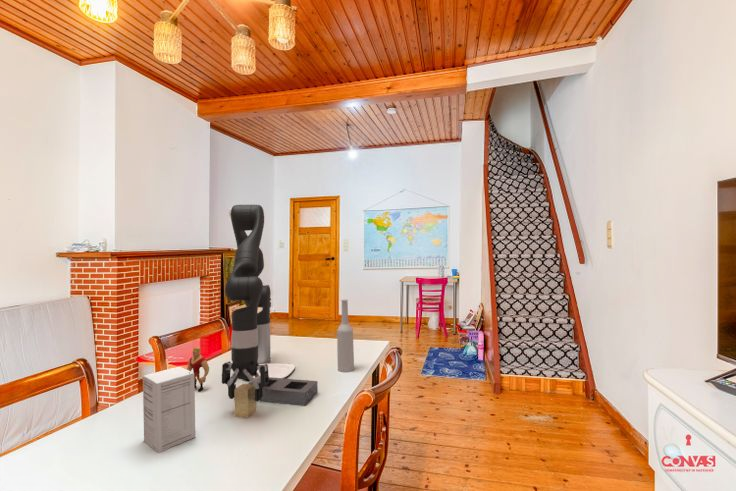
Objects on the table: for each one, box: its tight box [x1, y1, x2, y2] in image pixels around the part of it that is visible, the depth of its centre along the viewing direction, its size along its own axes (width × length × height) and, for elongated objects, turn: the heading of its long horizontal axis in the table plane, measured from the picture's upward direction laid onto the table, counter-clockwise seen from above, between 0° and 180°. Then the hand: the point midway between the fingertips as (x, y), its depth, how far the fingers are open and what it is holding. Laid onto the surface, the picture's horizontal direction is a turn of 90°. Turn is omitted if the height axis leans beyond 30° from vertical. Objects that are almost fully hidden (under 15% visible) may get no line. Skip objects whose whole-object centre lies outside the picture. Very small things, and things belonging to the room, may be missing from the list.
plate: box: [253, 362, 296, 379], centre depth 140 cm, size 18×18×2 cm
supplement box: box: [142, 366, 196, 453], centre depth 92 cm, size 10×9×17 cm
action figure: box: [186, 346, 210, 392], centre depth 125 cm, size 10×4×15 cm, turn 70°
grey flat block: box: [247, 377, 319, 407], centre depth 118 cm, size 22×10×4 cm, turn 76°
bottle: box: [336, 299, 355, 373], centre depth 144 cm, size 7×7×28 cm
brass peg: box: [233, 383, 257, 419], centre depth 106 cm, size 4×4×8 cm
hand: (245, 399), depth 106 cm, fingers open, 8 cm apart
